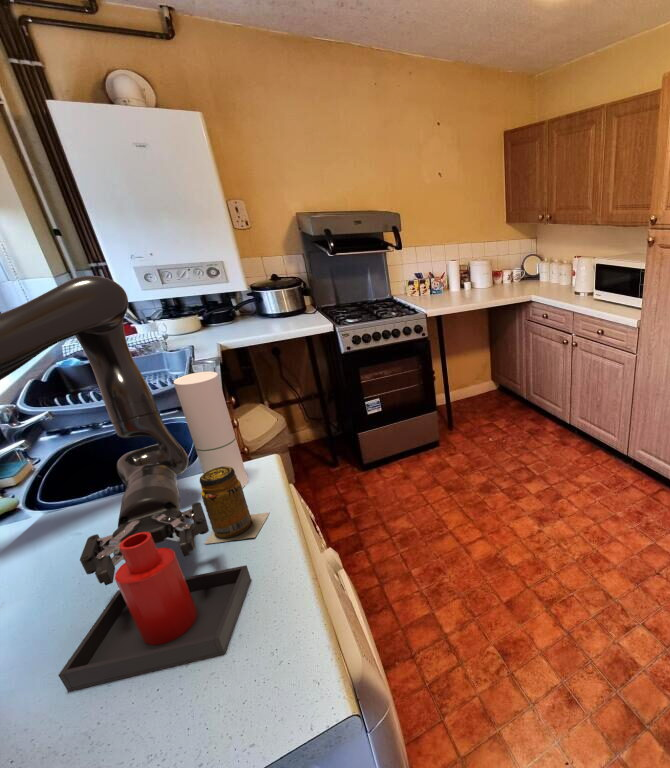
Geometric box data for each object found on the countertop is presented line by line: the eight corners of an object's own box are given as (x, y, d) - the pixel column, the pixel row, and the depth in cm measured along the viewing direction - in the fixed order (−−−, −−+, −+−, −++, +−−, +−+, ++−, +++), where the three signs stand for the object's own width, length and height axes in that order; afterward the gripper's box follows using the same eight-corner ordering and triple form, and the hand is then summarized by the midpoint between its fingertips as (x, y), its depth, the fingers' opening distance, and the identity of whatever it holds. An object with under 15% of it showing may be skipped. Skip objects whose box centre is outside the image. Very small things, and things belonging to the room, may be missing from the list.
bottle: (134, 650, 58) (92, 562, 52) (155, 612, 64) (119, 529, 58) (187, 638, 59) (152, 551, 54) (204, 602, 65) (173, 520, 60)
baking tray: (67, 692, 54) (57, 675, 52) (124, 605, 65) (117, 590, 64) (224, 654, 58) (218, 638, 57) (251, 579, 70) (246, 564, 68)
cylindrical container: (242, 473, 99) (212, 369, 90) (252, 485, 94) (221, 377, 85) (206, 486, 94) (170, 378, 85) (214, 500, 89) (177, 387, 80)
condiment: (222, 518, 84) (205, 464, 80) (269, 513, 85) (255, 460, 81) (204, 545, 77) (184, 488, 73) (255, 538, 78) (238, 482, 74)
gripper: (84, 503, 66) (65, 567, 54) (196, 471, 74) (201, 521, 62) (102, 542, 69) (88, 611, 57) (208, 507, 77) (216, 562, 65)
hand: (147, 564), depth 60 cm, fingers open, 8 cm apart
